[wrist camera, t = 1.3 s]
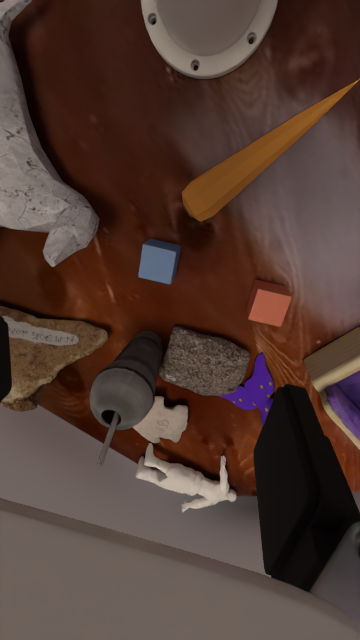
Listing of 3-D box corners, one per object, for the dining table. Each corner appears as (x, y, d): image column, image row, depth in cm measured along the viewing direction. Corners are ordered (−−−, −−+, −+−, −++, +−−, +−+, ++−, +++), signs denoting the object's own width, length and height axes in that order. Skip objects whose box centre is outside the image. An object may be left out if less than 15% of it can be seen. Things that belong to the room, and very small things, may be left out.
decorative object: (174, 458, 50) (116, 446, 48) (175, 440, 53) (120, 428, 51) (197, 411, 44) (132, 396, 43) (196, 394, 47) (135, 379, 46)
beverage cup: (157, 314, 42) (103, 412, 24) (181, 356, 44) (148, 474, 26) (115, 332, 44) (36, 434, 26) (139, 371, 46) (82, 490, 28)
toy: (213, 391, 45) (211, 413, 41) (262, 352, 41) (265, 371, 37) (277, 443, 48) (281, 468, 44) (329, 410, 44) (340, 435, 39)
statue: (-231, -149, 18) (89, -90, 18) (-61, -15, 30) (133, 20, 30) (-126, 269, 29) (77, 306, 29) (-31, 247, 41) (113, 273, 41)
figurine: (128, 474, 57) (212, 502, 59) (121, 502, 52) (213, 531, 55) (162, 419, 48) (258, 454, 51) (158, 446, 44) (264, 483, 47)
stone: (160, 367, 45) (153, 381, 42) (176, 317, 42) (169, 328, 38) (232, 394, 45) (231, 411, 41) (255, 346, 41) (255, 360, 37)
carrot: (200, 229, 36) (194, 225, 31) (179, 197, 35) (170, 188, 31) (364, 110, 30) (384, 85, 26) (341, 71, 30) (357, 39, 25)
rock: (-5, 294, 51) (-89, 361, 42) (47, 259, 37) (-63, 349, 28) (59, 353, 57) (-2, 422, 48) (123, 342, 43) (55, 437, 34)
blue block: (151, 238, 38) (142, 244, 34) (181, 245, 37) (176, 251, 34) (146, 268, 39) (138, 277, 36) (175, 275, 39) (170, 284, 35)
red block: (255, 279, 38) (257, 288, 34) (286, 286, 37) (292, 296, 34) (246, 307, 39) (247, 319, 36) (275, 314, 39) (280, 327, 36)
